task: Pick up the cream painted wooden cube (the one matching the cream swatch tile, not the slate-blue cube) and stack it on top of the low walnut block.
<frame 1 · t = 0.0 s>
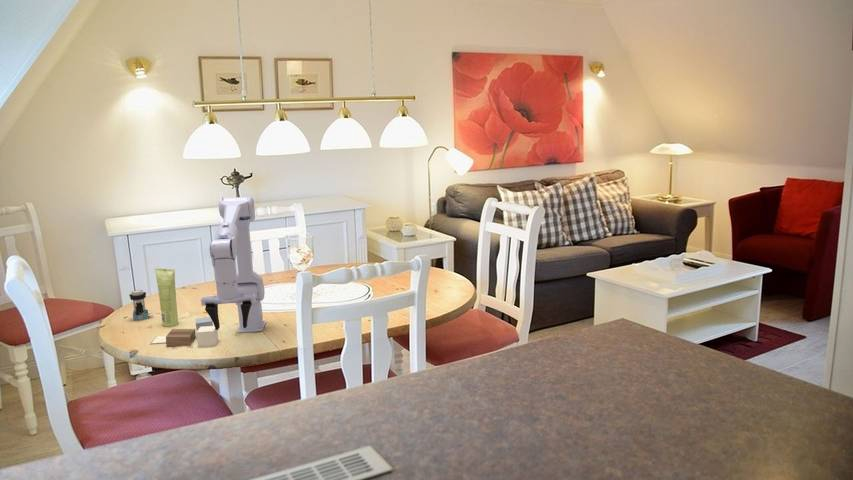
hand: (231, 327, 188), 10 cm above the table, fingers open, 7 cm apart
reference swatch: (164, 340, 209), on the table
walnut block: (181, 341, 207), on the table, touching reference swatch
slate cube: (205, 334, 213), on the table
tube: (171, 325, 224), on the table
cream cube: (208, 344, 204), on the table
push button: (143, 319, 231), on the table
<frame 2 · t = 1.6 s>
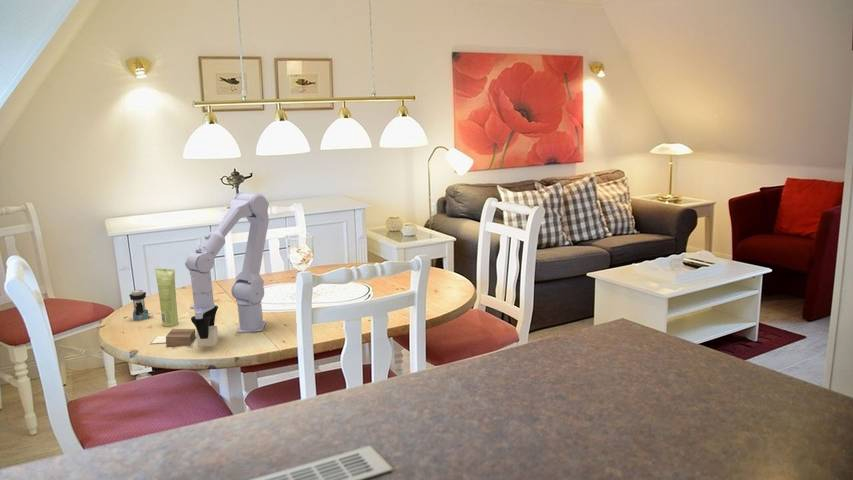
hand: (207, 334, 204), 3 cm above the table, fingers open, 7 cm apart
nothing on the table moved.
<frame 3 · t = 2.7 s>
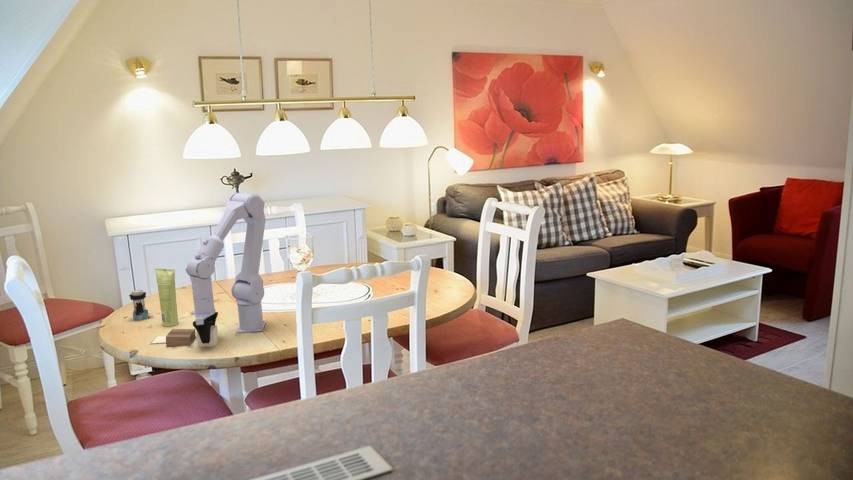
hand: (208, 339, 204), 1 cm above the table, fingers closed on cream cube, 5 cm apart
cream cube: (208, 344, 204), on the table, touching gripper
everything else where it was.
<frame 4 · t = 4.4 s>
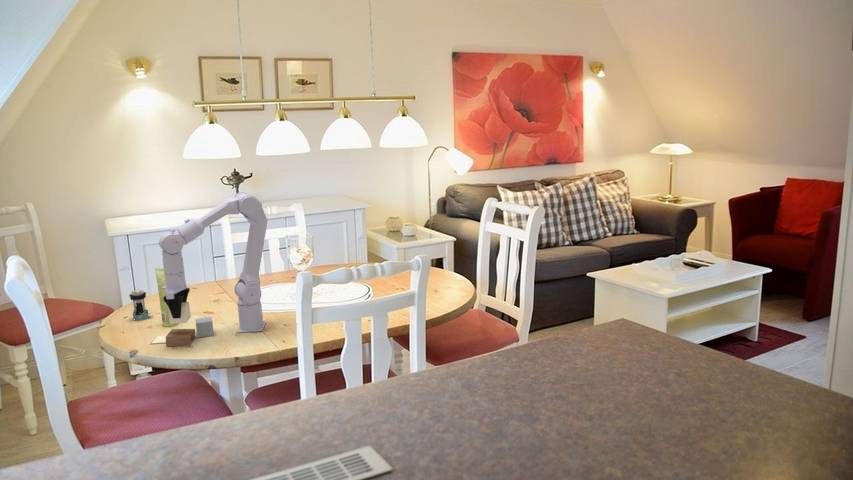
hand: (179, 315, 205), 9 cm above the table, fingers closed on cream cube, 5 cm apart
cream cube: (180, 320, 205), point 7 cm above the table, touching gripper
everything else where it was.
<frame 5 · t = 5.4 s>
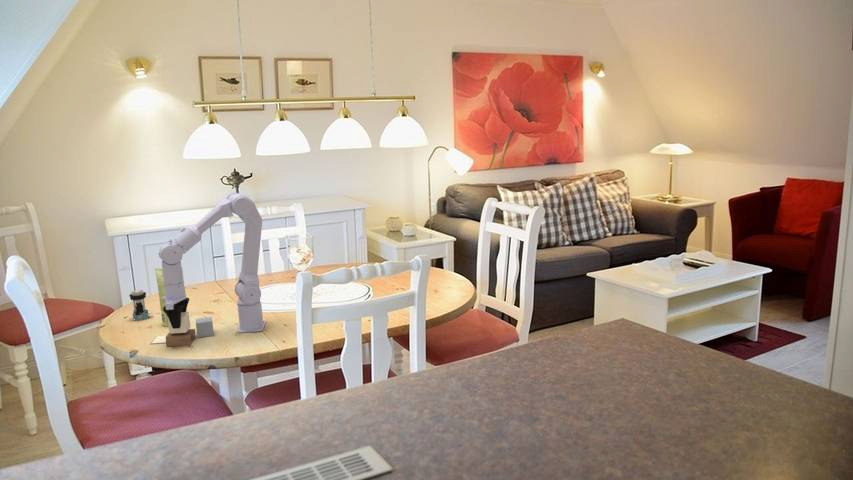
hand: (179, 325, 205), 6 cm above the table, fingers closed on cream cube, 5 cm apart
cream cube: (180, 330, 206), point 4 cm above the table, touching gripper
everything else where it was.
when the fingers open (6 cm above the table, at t = 6.0 s): cream cube stays where it is, resting on walnut block.
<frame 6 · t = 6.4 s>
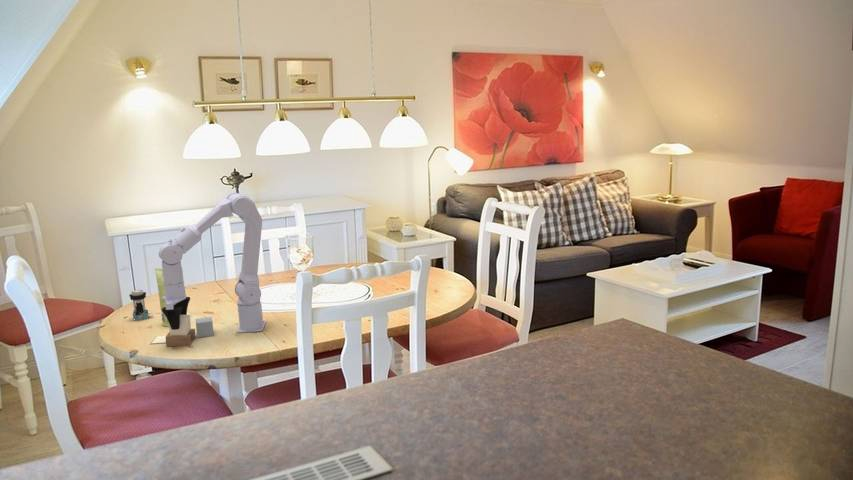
hand: (179, 325, 205), 6 cm above the table, fingers open, 7 cm apart
walnut block: (180, 341, 207), on the table, touching cream cube, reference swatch
cream cube: (180, 332, 206), point 3 cm above the table, touching walnut block
everything else where it was.
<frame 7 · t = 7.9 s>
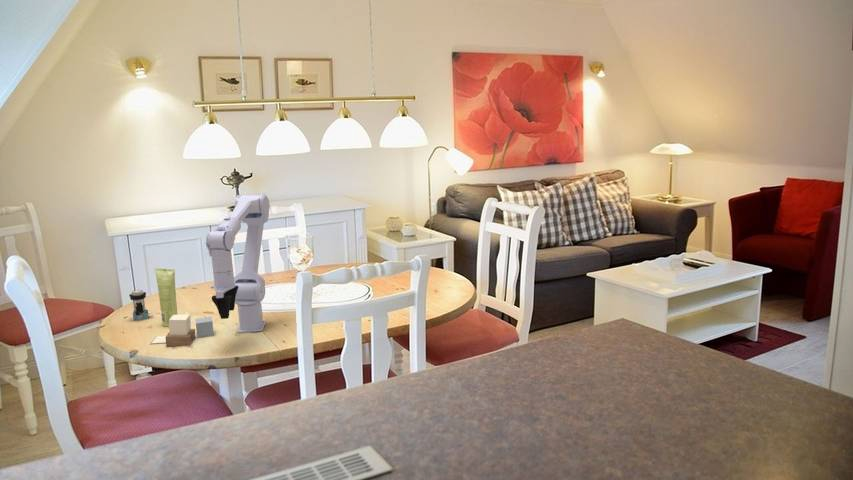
hand: (227, 314, 201), 10 cm above the table, fingers open, 7 cm apart
nothing on the table moved.
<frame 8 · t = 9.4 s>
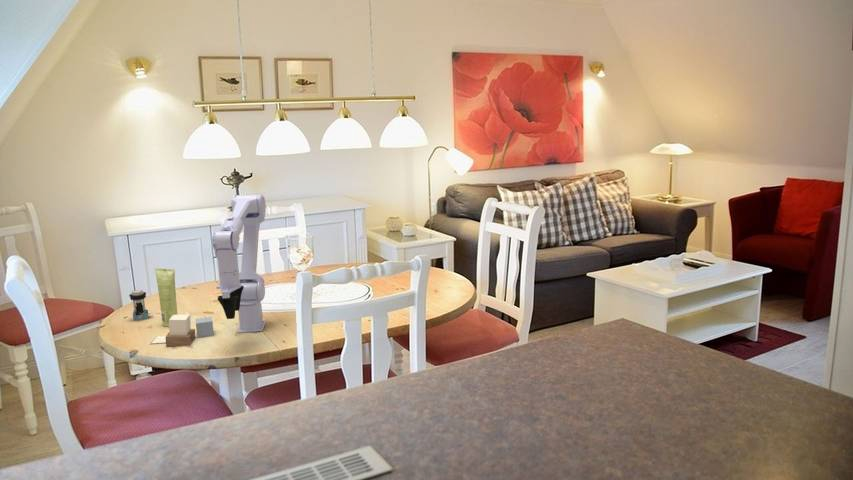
hand: (233, 314, 200), 10 cm above the table, fingers open, 7 cm apart
nothing on the table moved.
at the end: cream cube 0.2 cm off-centre on the walnut block, point 3.0 cm above the walnut block's base; cream cube tilted 4°; the gripper is holding nothing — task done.
